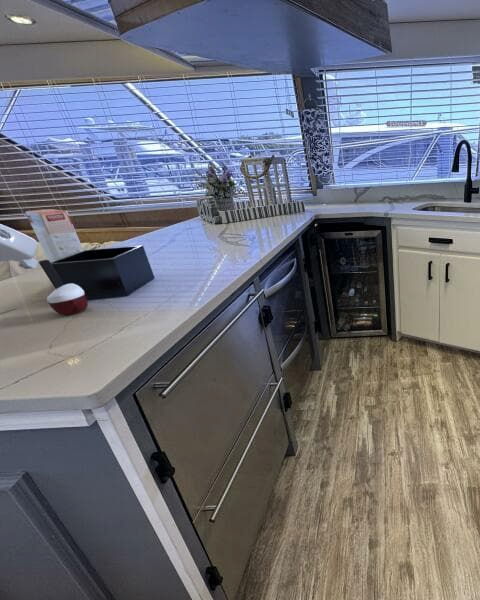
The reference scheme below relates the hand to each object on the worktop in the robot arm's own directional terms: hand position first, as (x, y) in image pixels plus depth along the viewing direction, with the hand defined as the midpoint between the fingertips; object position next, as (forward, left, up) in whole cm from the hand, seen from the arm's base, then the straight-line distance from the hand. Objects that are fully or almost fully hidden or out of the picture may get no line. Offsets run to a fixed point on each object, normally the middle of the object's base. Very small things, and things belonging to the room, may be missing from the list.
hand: (6, 267), depth 62 cm
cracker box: (-14, +35, -14) cm, 40 cm away
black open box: (+1, +24, -14) cm, 27 cm away
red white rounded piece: (+1, +9, -14) cm, 16 cm away
